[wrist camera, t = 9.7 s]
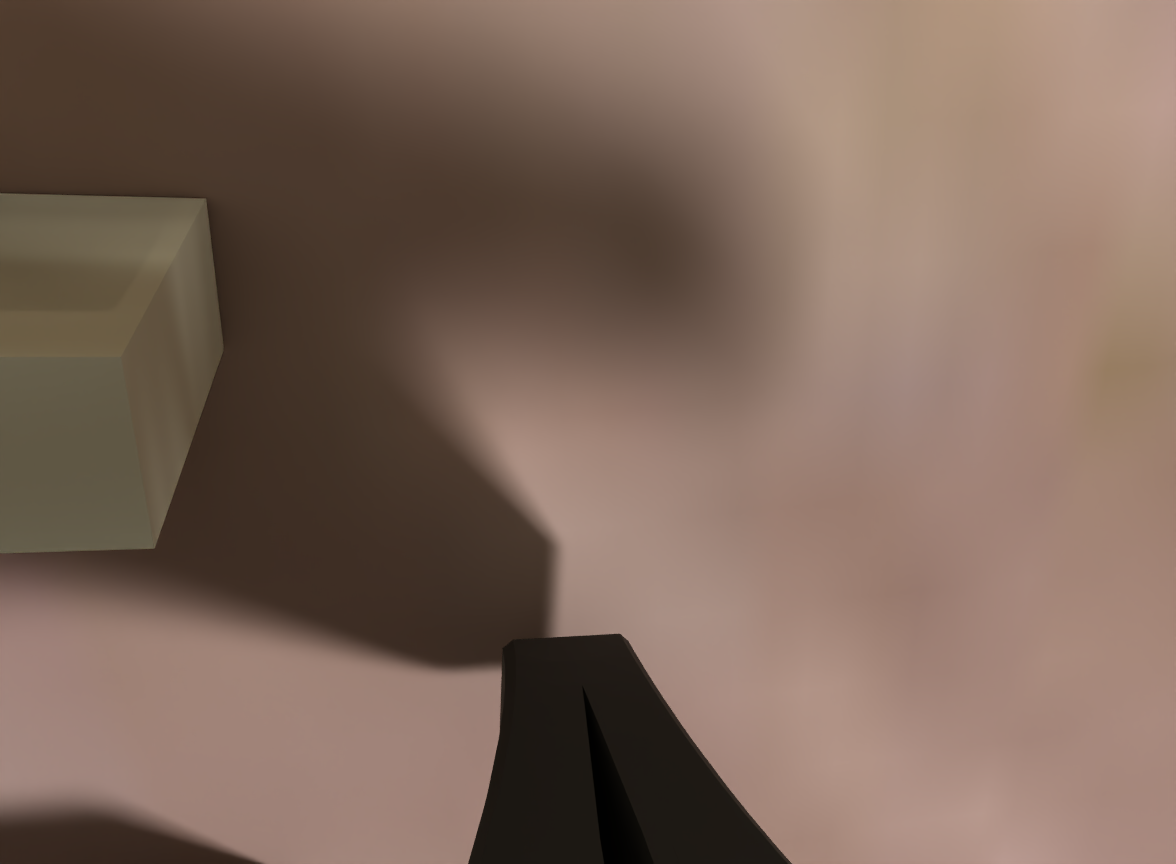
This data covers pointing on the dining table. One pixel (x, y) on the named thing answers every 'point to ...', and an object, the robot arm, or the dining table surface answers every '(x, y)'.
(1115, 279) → the dining table surface
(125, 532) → the walnut rails
